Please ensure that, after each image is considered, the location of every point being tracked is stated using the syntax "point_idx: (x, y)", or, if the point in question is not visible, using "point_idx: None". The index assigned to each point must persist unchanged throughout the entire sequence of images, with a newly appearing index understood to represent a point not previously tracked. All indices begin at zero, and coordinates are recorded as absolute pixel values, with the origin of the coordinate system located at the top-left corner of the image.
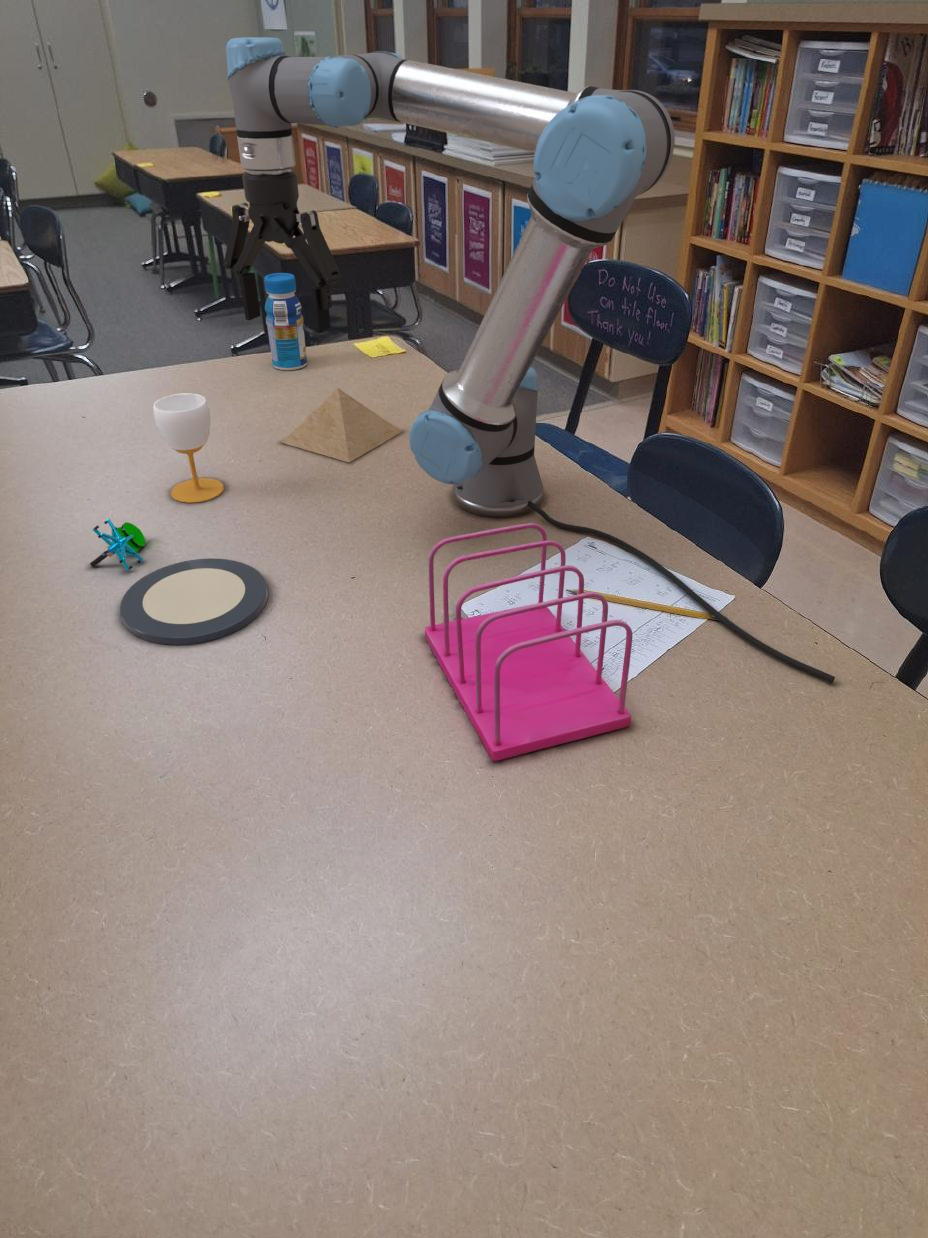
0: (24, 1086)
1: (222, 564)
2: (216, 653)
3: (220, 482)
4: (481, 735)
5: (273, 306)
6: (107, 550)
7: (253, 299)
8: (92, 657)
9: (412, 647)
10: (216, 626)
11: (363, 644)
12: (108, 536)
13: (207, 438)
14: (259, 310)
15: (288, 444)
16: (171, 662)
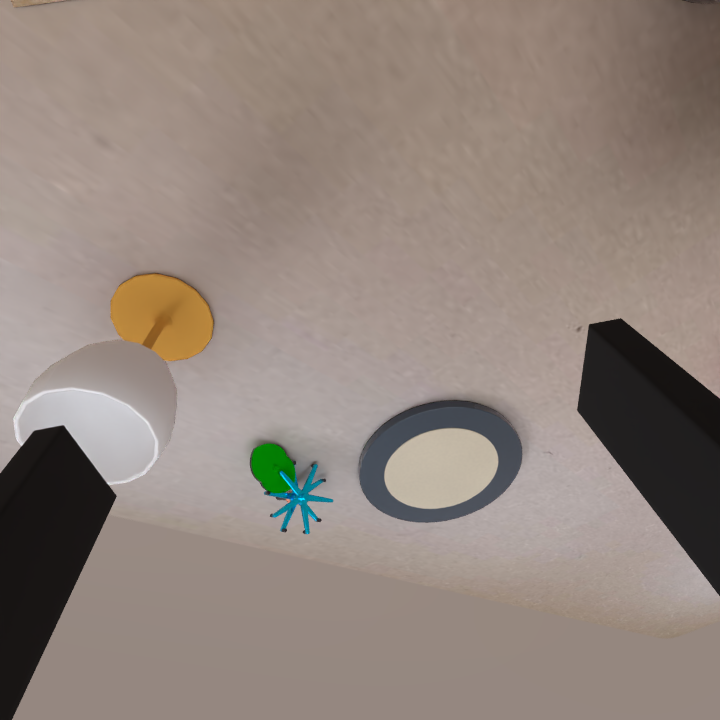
0: (639, 630)
1: (416, 424)
2: (521, 487)
3: (161, 277)
4: None
5: None
6: (311, 514)
7: (31, 556)
8: (426, 542)
9: (713, 377)
10: (504, 481)
11: None
12: (308, 523)
13: (157, 356)
14: (48, 452)
15: (41, 3)
16: (493, 512)
